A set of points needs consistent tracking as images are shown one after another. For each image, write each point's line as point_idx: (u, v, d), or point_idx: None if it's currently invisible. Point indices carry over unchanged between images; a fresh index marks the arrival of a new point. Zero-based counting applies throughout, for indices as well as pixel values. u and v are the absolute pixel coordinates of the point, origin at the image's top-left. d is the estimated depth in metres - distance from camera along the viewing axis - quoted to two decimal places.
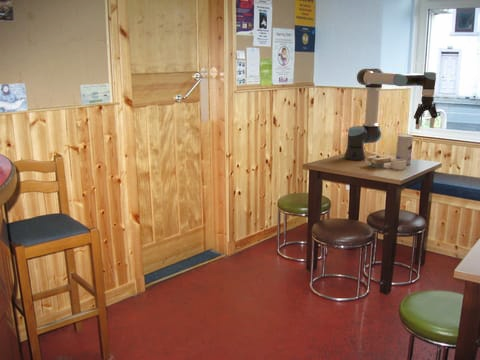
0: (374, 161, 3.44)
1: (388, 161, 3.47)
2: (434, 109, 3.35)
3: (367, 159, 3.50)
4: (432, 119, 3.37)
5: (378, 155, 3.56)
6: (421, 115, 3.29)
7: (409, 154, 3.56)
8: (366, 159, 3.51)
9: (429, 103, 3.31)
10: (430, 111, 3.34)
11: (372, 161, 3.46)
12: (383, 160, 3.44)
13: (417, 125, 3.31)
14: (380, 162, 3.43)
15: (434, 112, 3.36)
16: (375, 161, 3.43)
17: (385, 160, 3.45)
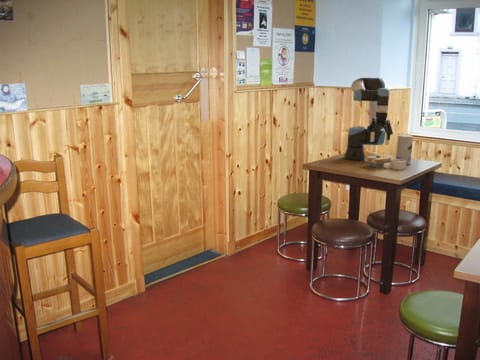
0: (374, 161, 3.44)
1: (388, 161, 3.47)
2: (387, 126, 3.38)
3: (367, 159, 3.50)
4: None
5: (378, 155, 3.56)
6: (373, 128, 3.49)
7: (409, 154, 3.56)
8: (366, 159, 3.51)
9: (381, 119, 3.41)
10: None
11: (372, 161, 3.46)
12: (383, 160, 3.44)
13: None
14: (380, 162, 3.43)
15: None
16: (375, 161, 3.43)
17: (385, 160, 3.45)
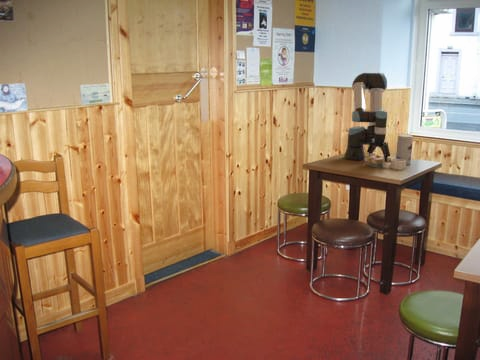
0: (374, 161, 3.44)
1: (388, 161, 3.47)
2: (384, 148, 3.42)
3: (367, 159, 3.50)
4: None
5: (378, 155, 3.55)
6: (371, 150, 3.52)
7: (409, 154, 3.56)
8: (366, 159, 3.51)
9: (379, 140, 3.45)
10: None
11: (372, 161, 3.46)
12: None
13: None
14: (380, 162, 3.43)
15: None
16: (375, 161, 3.43)
17: None
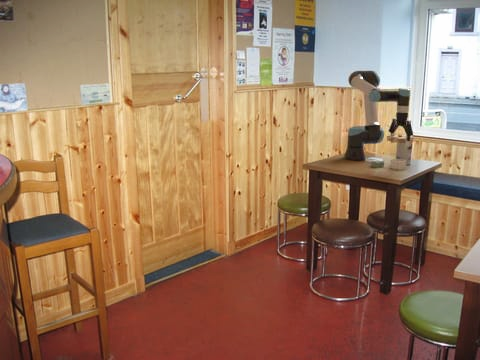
0: (396, 140, 3.37)
1: (411, 140, 3.39)
2: (407, 127, 3.34)
3: (389, 139, 3.42)
4: None
5: None
6: (393, 129, 3.44)
7: (409, 154, 3.56)
8: (388, 139, 3.43)
9: (401, 119, 3.37)
10: None
11: (394, 140, 3.38)
12: None
13: None
14: (403, 141, 3.35)
15: None
16: (398, 140, 3.36)
17: None
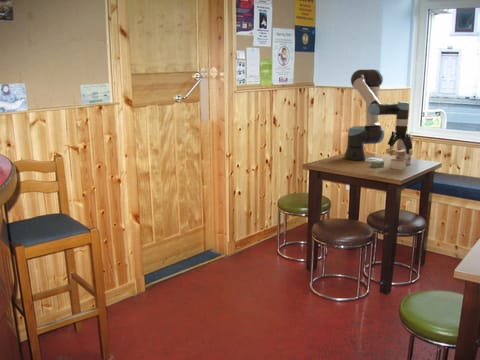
0: (396, 153, 3.39)
1: (410, 153, 3.41)
2: (406, 140, 3.36)
3: (388, 151, 3.44)
4: None
5: None
6: (392, 142, 3.47)
7: None
8: (387, 152, 3.45)
9: (401, 132, 3.40)
10: None
11: (394, 153, 3.40)
12: None
13: None
14: (402, 154, 3.38)
15: (408, 143, 3.36)
16: (397, 153, 3.38)
17: None
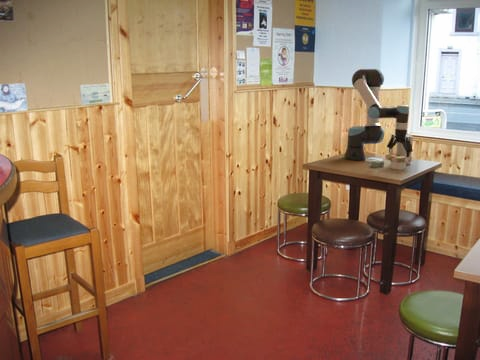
0: (395, 160, 3.40)
1: (409, 160, 3.43)
2: (406, 143, 3.37)
3: (387, 158, 3.46)
4: None
5: None
6: (392, 145, 3.48)
7: None
8: (386, 158, 3.46)
9: (400, 136, 3.40)
10: None
11: (393, 160, 3.42)
12: (404, 159, 3.40)
13: None
14: (401, 161, 3.39)
15: (408, 146, 3.37)
16: (396, 159, 3.39)
17: None
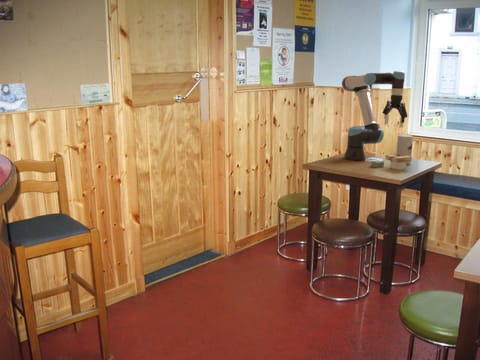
0: (395, 160, 3.40)
1: (409, 160, 3.43)
2: (401, 109, 3.40)
3: (387, 158, 3.46)
4: None
5: None
6: (387, 111, 3.51)
7: (409, 154, 3.56)
8: (386, 158, 3.46)
9: (396, 102, 3.44)
10: None
11: (393, 160, 3.42)
12: (404, 159, 3.40)
13: None
14: (401, 161, 3.39)
15: None
16: (396, 159, 3.39)
17: (406, 159, 3.41)
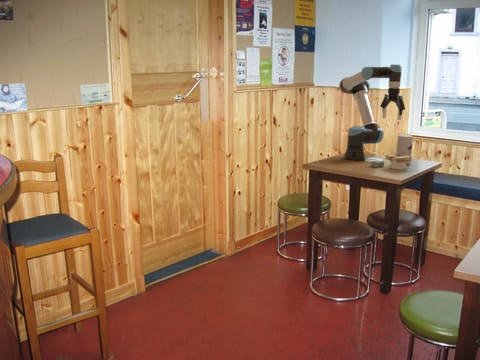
0: (395, 160, 3.40)
1: (409, 160, 3.43)
2: (399, 102, 3.43)
3: (387, 158, 3.46)
4: None
5: None
6: (385, 105, 3.54)
7: (409, 154, 3.56)
8: (386, 158, 3.46)
9: (393, 95, 3.47)
10: None
11: (393, 160, 3.42)
12: (404, 159, 3.40)
13: None
14: (401, 161, 3.39)
15: None
16: (396, 159, 3.39)
17: (406, 159, 3.41)
